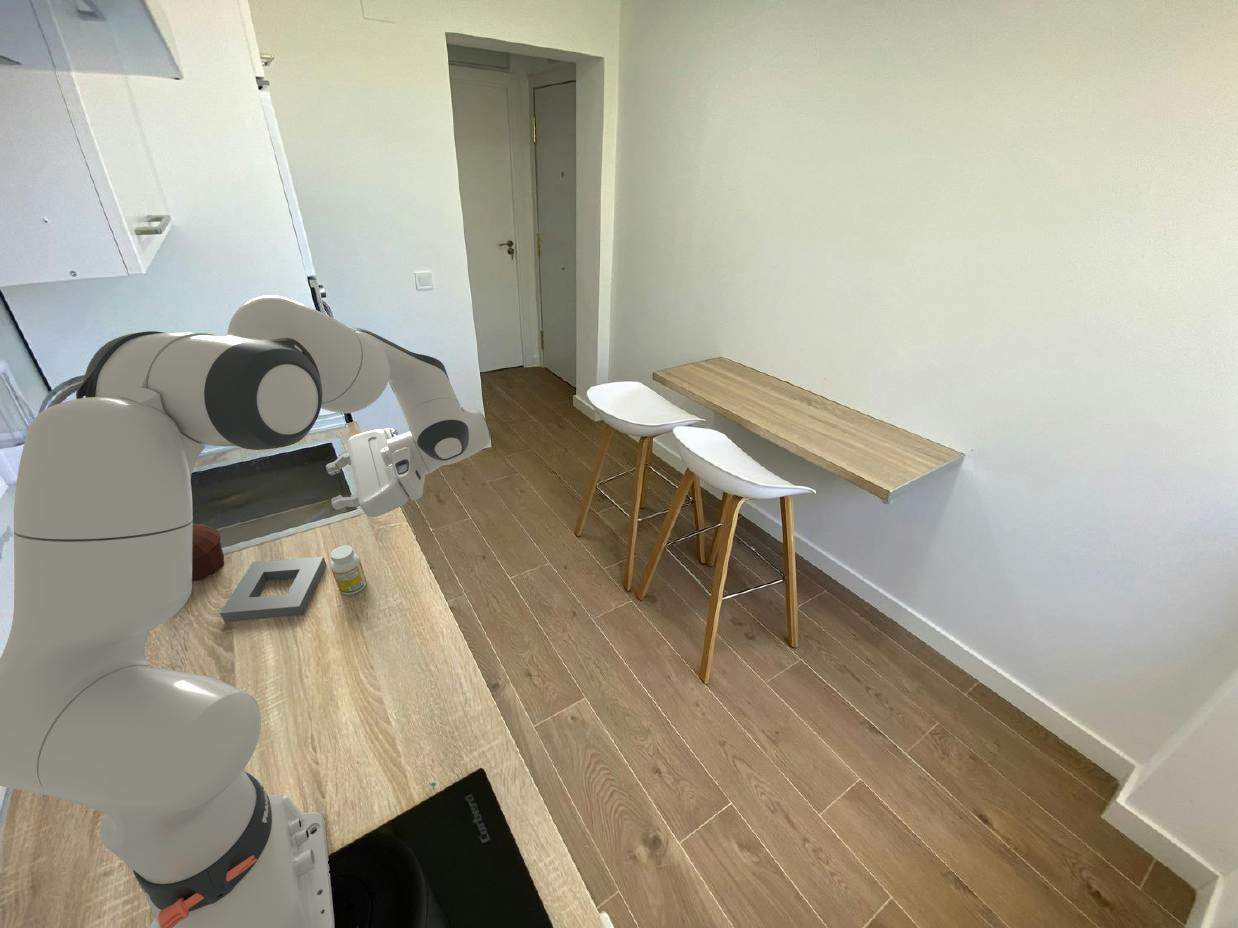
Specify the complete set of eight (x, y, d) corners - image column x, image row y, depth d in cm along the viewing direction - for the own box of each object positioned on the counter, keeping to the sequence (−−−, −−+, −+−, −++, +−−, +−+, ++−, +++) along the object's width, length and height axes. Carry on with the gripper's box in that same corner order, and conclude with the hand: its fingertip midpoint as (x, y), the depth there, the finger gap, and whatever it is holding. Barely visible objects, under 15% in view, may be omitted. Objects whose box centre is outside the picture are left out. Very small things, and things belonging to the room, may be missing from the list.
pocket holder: (326, 564, 111) (323, 556, 109) (303, 614, 99) (299, 606, 98) (256, 570, 109) (252, 561, 107) (224, 621, 97) (219, 613, 96)
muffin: (180, 554, 112) (160, 518, 106) (238, 545, 115) (221, 510, 109) (157, 593, 102) (133, 556, 97) (220, 582, 105) (201, 546, 100)
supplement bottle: (359, 596, 104) (347, 562, 98) (334, 594, 104) (320, 560, 98) (371, 577, 108) (361, 543, 103) (347, 575, 108) (335, 542, 103)
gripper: (389, 414, 100) (316, 440, 96) (409, 481, 87) (327, 514, 83) (401, 436, 104) (333, 463, 101) (423, 503, 91) (345, 536, 88)
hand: (330, 487), depth 92 cm, fingers open, 8 cm apart
